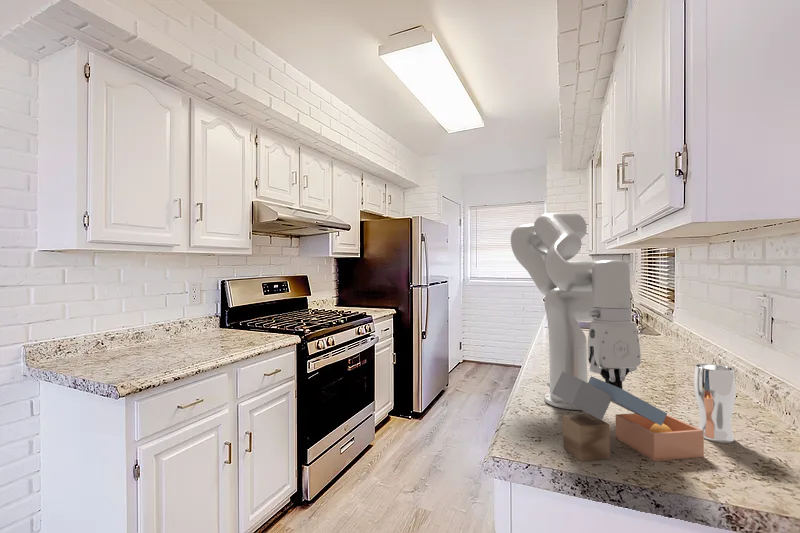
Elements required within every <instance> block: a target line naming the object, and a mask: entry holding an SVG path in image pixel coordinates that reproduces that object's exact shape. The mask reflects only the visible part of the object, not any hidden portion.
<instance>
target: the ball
mask: <svg viewBox="0 0 800 533" xmlns="http://www.w3.org/2000/svg"><path fill="white" fill-rule="evenodd" d="M650 431H651V432H653V433H662V432H672V430H671V429H670V428H669V427H668V426H667V425H665V424H662V426H661V425H659V424H657V423H656V424H654V425H652V426H651V428H650Z"/></svg>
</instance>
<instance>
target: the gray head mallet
mask: <svg viewBox="0 0 800 533" xmlns="http://www.w3.org/2000/svg"><path fill="white" fill-rule="evenodd" d="M552 394H554V395H556V396H557V397H559V398H561V399H563V400H564V401H566V402H568V403H570V404H571V405H573V406H575V407H577V408H579V409H581V410H580V411H583V412H585V413H588V414H590V415H592V416H594V417H596V418H598V419H600V420H603V419H604V417H605V415H606V413H607V411H608V409H609V406H610V404H611V403H613V404H615V405H617V406H619V407H621V408H623V409H625V410H627V411H630V412H632V413H636V414H638V415H640V416H642V417H644V418H646V419H648V420H650V421H652V422H654V423H657V424H659V425H661V426H662V424H663V422H664V419H665V417H666V415H668V413H667V412H665V411H664V410H661V409H660V408H657V407H656V406H654V405H652V404H650V403H649V402H647V401H645V400H643V399H641V398H639V397H638V396H635V395H634V394H632V393H630V392H629V391H626V390H625V389H623V388H622V389H621V388H618V387H616V386H614V385H611V384H609V383H606V382H605V380H601V379H599V378H596V377H595V376H592V375H590V378H589V380H588V383H587V382H585V381H583V380H581V379H579V378H576V377H574V376H572V375H570V374H567V373H565V372H563V371H562V373H561V375H560V377H559V379H558V382H557V384H556V386H555V388H554V390H553V392H552Z"/></svg>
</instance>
